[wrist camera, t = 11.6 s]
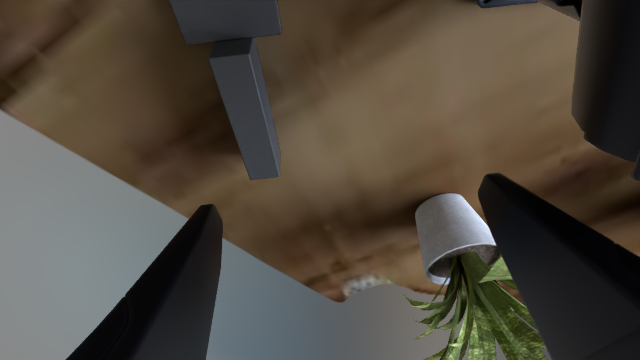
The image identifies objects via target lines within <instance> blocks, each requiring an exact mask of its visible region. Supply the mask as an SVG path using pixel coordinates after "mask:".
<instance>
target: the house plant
mask: <svg viewBox="0 0 640 360" xmlns="http://www.w3.org/2000/svg"><path fill="white" fill-rule="evenodd" d="M415 219H416V225H417V231H418V237H419V242H420V248H421V254H422V260H423V266H424V272H425V275H426V278H427V279H429V280H430V281H431V282H434V283H436V284H442V286H441V288H440V289H439V291H438V292H437V294H436V295H435V297H434V299H433V301H434V300H435V299H436V297H437V296H438V295H439V293H440V291H441V289H442V288H443V286H444V285H448V287H447V290H446V294H445V297H444V300H443V302H439V303H424V302H417V301H413V300H411V299H409V298H407V297H406V298H407V299H408V301H409V302H410V303H411V304H412V305H413V307H414V308H418V309H422V310H434V309H437V310H436V311H435V312H434V313H433V314H431V315H430V316H429V317H427V318H426V319H424V320H422V321H421V322H420V323H424V324H427V325H428V324H431V326H429V325H428V326H429V328H428V330H427V331H426V332H425V333H424V334H422V335H421V336H419V337H417V338H415V339H418V338H421V337H424V336H427V335H428V334H430V333H431V332H432V331H433V330H434V329H436V328H437V327H436V326H437V325H438V324H439V322H440V321H441V320H443V319H444V318H445V317H446V315H447V314H448V313H449V312H450V310H451V308H452V306H453V304H454V302H455V300H456V295H457V291H458V297H457V303H456V309H455V314H454V316H453V318H452V319H451V320H450V321H449V322H448V323H447V324H445V325H444V326H441V327H439V328H438V329H444V330H446V329H452V330H451V335H450V338H449V341H448V344H447V347H446V348H444V349H443V350H442V351H440V352H439V353H437V354H435V355H433V356H431V357H429V358H426V359H425V360H432V359H435V358H438V357H440V356H442V357H441V358H440V360H447V358H448V356H449V354H450V352H451V351H452V352H451V354H450V356H449V358H448V360H455V358H456V357H457V355H458V352H459V350H460V348H461V352H460V357H459V360H462V358H463V357H464V355H465V353H466V348H467V345H468V339H469V338H470V342H469V354H468V360H496V347H495V338H496V340H497V341H498V343H499V345H500V347H501V349H502V350H503V353H504V354H505V356H506V358H507V360H522V359H521V357H520V355H519V353H520V354H521V356H522V357H523V358H524V359H525V360H547V358H546V357H545V356H544V354H543V353H542V352H541V350H540V348H546V347H545V344H544V342H543V340H542V338H541V336H540V334H539V333H537V332H536V331H535V330H533V329H532V328H530V327H529V326H528V325H527V324H526V323H525V322H523V321H522V320H521V319H520V318H519V317H518V316H517V315H516V314H515V313H514V312H513V311H515V312H516V313H517V314H518V315H519V316H520V317H521V318H523V319H524V320H525V321H526V322H527V323H529V324H530V325H531V326H532V327H534V328H535V329H537V328H536V326H535V324H534V322H533V320H532V318H531V316H530V314H529V312H528V310H527V307H526V306H524V305H523V304H522V303H520V302H519V301H518V300H517V299H516V298H514V297H513V296H512V295H510V294H509V293H508V292H506V291H505V290H504V289H503V288H502V287H501V286H500V285H499V284H498V283H497V282H496V280H499V281H501V282H503V283H504V284H506V285H508V286H509V287H511V288H513V289H515V290H518V289H517V287H516V285H515V283H514V281H512V280H510V279H512V277H511V275H510V273H509V270H508V268H507V266H506V264H505V262H504V260H503V258H502V256H501V254H500V252H499V250H498V248H497V246H496V244H495V242H494V239H493V237H492V235H491V232H490V229H489V227H488V226H487V225H486V224H485V222H484V221H483V220H482V219H481V218H480V217H479V215H478V214H477V213H476V212H475V211H474V210H473V208H472V207H471V206H470V205H469V204H468V203H467V202H466V200H465V199H464V198H463V197H462V196H461V195H458V194H452V193H447V194H441V195H437V196H434V197H432V198H430V199H428V200H426V201H425V202H423V203H422V204H421V205H420V206H419V207H418V209H417V211H416V213H415ZM465 310H466V311H465ZM464 313H465V317H464V322H463V325H462V329H461V332H460V334H459V337H458V338H457V339H456V340H454V339H455V334H456V328H457V324H458V323H459V322H460V321H461V319H462V318H463V315H464ZM494 336H495V338H494ZM461 346H462V347H461ZM539 347H540V348H539ZM516 349H517V350H518V352H519V353H518V352H517V350H516Z"/></svg>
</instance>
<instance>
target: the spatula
mask: <svg viewBox="0 0 640 360" xmlns="http://www.w3.org/2000/svg"><path fill="white" fill-rule="evenodd" d="M169 1H170V4H171V7H172V9H173V12H174V14H175V17H176V20H177V22H178V25H179V27H180V30H181V33H182V35H183V38H184V40H185V43H186V45H191V44H199V43H208V42H215V45H214V47H213V49H212V51H211V53H210V55H209V58H208V60H209V63H210V66H211V69H212V72H213V74H214V77H215V80H216V83H217V86H218V89H219V92H220V95H221V97H222V100H223V103H224V106H225V109H226V112H227V115H228V118H229V121H230V123H231V126H232V129H233V132H234V135H235V138H236V141H237V144H238V146H239V149H240V152H241V155H242V158H243V161H244V164H245V167H246V169H247V172H248V175H249V178H250V180H257V179H266V178H275V177H280V156H281V152H280V148H279V144H278V139H277V135H276V130H275V126H274V121H273V117H272V113H271V108H270V104H269V99H268V95H267V91H266V86H265V82H264V77H263V73H262V68H261V64H260V60H259V55H258V51H257V46H256V42H255V37H261V36H270V35H279V34H282V27H281V21H280V15H279V9H278V3H277V0H169Z"/></svg>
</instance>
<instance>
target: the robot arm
mask: <svg viewBox="0 0 640 360" xmlns="http://www.w3.org/2000/svg"><path fill="white" fill-rule="evenodd" d="M475 2H476V4H477V5H478V6H480V7H481V8H491V7H500V6H509V5H518V4H527V3H536V2H540V3H542V4H544V5H547V6H549V7H551V8H553V9H555V10H557V11H559V12H561V13H563V14H566V15H568V16H570V17H572V18H574V19H576V20H578V21H580V27H579V37H578V46H577V55H576V65H575V74H574V83H573V93H572V115H573V117H574V118H575V120H576V122H577V123H578V125H579V126H580V128H581V130H583V131H584V138H585V140H586V141H588V142H590V143H591V144H593V145H594V146H596V147H597V148H599V149H600V150H602V151H605V152H607V153H610V154H612V155H615V156H618V157H620V158H623V159H625V160H629V161H633V162H635V165H634V168H633V171H632V174H631V176H632V178H633V179H635V180H638V181H640V0H485V1H483V0H475ZM478 197H479V201H480V203H481V206H482V209H483V212H484V215H485V218H486V221H487V223H488V226H489V229H490V232H491V235H492V237H493V239H494V242H495V244H496V246H497V248H498V250H499V252H500V254H501V256H502V258H503V260H504V262H505V264H506V266H507V268H508V270H509V273H510V275H511V277H512V279H513V281H514V283H515V285H516V287H517V289H518V291H519V293H520V295H521V297H522V299H523V301H524V303H525V305H526V307H527V310H528V312H529V314H530V316H531V318H532V320H533V322H534V324H535V326H536V328H537V330H538V332H539V334H540V336H541V338H542V340H543V342H544V344H545V347H546V348H547V350H548V352H549V355H550V357H551V359H552V360H640V257H639V256H637V255H636V254H634V253H632V252H631V251H629V250H627V249H626V248H624V247H622V246H621V245H619V244H615V242H614V241H612V240H610V239H609V238H607V237H605V236H604V235H602V234H600V233H599V232H597V231H596V230H594V229H592V228H591V227H589V226H587V225H586V224H584V223H582V222H581V221H579V220H577V219H576V218H574V217H572V216H571V215H569V214H567V213H566V212H564V211H562V210H561V209H559V208H557V207H556V206H554V205H552V204H551V203H549V202H547V201H546V200H544V199H542V198H541V197H539V196H537V195H536V194H534V193H532V192H531V191H529V190H527V189H526V188H524V187H523V186H521V185H519V184H518V183H516V182H514V181H513V180H511V179H509V178H508V177H506V176H504V175H503V174H501V173H491V174H486V175H485V176H484V178H483V181H482V183H481V185H480V188H479V190H478ZM222 233H223V222H222V219H221V216H220V214H219V212H218V210H217V209H216V207H215V205H213V204H208V205H202V206H200V207H199V208H198V209H197V210H196V212H195V213H194V214H193V215H192V216H191V218H190V219H189V220H188V221H187V222H186V223H185V225H184V226H183V227H182V228H181V229H180V231H179V232H178V233H177V234H176V235H175V236H174V238H173V239H172V240H171V242H169V244H168V245H167V246H166V247H165V248H164V250H163V251H162V252H161V253H160V254H159V255H158V257H157V258H156V259H155V260H154V261H153V262H152V264H151V265H150V266H149V267H148V268H147V270H146V271H145V272H144V273H143V274H142V275H141V277H140V278H139V279H138V280H137V281H136V283H135V284H134V285H133V286H132V287H131V288H130V290H129V291H128V292H127V293H126V295H125V297H123V298H122V299H121V300H120V301H119V303H118V304H117V305H116V306H115V307H114V309H113V310H112V311H111V312H110V313H109V314H108V315H107V316H106V318H105V319H104V320H103V321H102V322H101V323H100V324H99V326H97V328H96V329H95V330H94V331H93V332H92V333H91V334H90V335H89V336H88V337H87V338H86V339H85V340H84V341H83V342H82V344H80V345H79V347H77V348H76V349H75V351H74V352H73V353H72V354H71V355H70V356H69V357H68V358H67V359H66V360H206V354H207V348H208V342H209V336H210V330H211V324H212V318H213V312H214V306H215V300H216V294H217V288H218V282H219V276H220V269H221V254H222Z"/></svg>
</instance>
